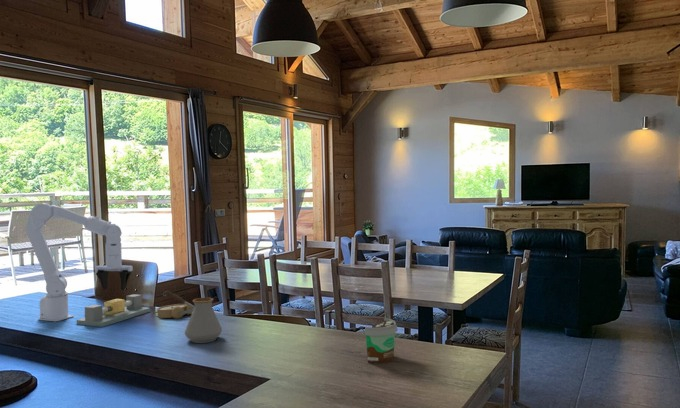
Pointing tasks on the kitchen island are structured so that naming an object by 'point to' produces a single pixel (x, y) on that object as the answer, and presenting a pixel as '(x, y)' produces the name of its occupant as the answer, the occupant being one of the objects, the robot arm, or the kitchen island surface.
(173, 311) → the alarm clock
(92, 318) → the long grey base plate
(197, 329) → the coffee pot
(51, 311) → the robot arm
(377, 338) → the food container
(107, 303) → the block
